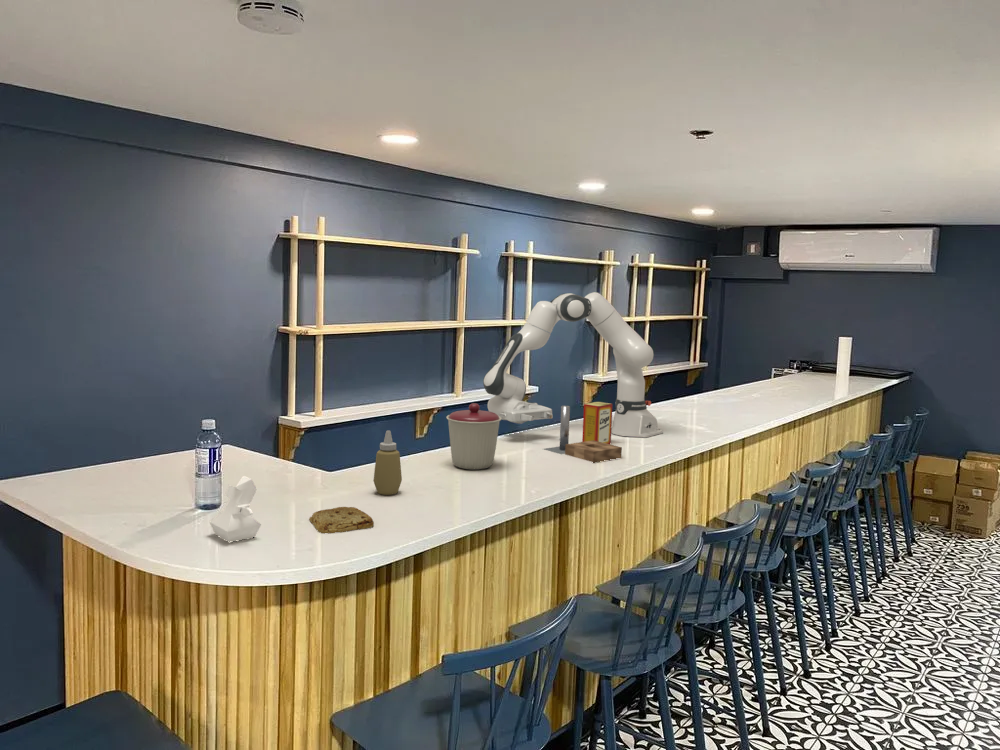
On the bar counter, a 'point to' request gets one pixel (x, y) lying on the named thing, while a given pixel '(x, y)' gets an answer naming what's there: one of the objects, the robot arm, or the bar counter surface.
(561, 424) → the pin
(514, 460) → the bar counter surface
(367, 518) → the pastry
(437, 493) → the bar counter surface
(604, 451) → the hole block
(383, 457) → the squeeze bottle
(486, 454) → the canister
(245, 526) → the white faceted figurine
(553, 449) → the mat
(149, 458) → the bar counter surface
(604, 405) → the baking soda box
